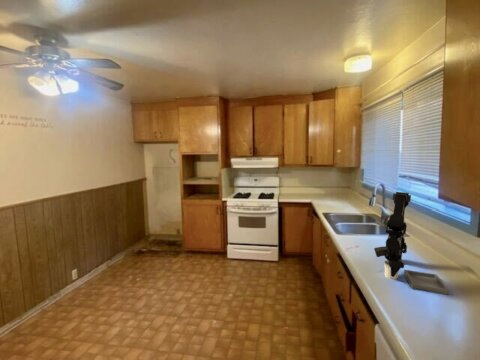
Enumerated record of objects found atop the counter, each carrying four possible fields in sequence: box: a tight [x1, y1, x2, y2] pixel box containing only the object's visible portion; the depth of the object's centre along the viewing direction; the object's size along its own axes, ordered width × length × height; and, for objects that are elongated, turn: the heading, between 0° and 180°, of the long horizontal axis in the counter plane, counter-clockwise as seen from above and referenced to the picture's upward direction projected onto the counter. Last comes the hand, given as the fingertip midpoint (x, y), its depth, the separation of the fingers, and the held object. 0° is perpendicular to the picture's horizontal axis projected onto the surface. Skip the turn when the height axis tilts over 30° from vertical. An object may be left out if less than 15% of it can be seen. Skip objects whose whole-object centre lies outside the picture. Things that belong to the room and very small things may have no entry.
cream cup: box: [384, 260, 400, 280], centre depth 138 cm, size 7×7×7 cm
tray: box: [403, 269, 450, 295], centre depth 132 cm, size 16×14×2 cm
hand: (391, 273), depth 138 cm, fingers closed on cream cup, 6 cm apart
